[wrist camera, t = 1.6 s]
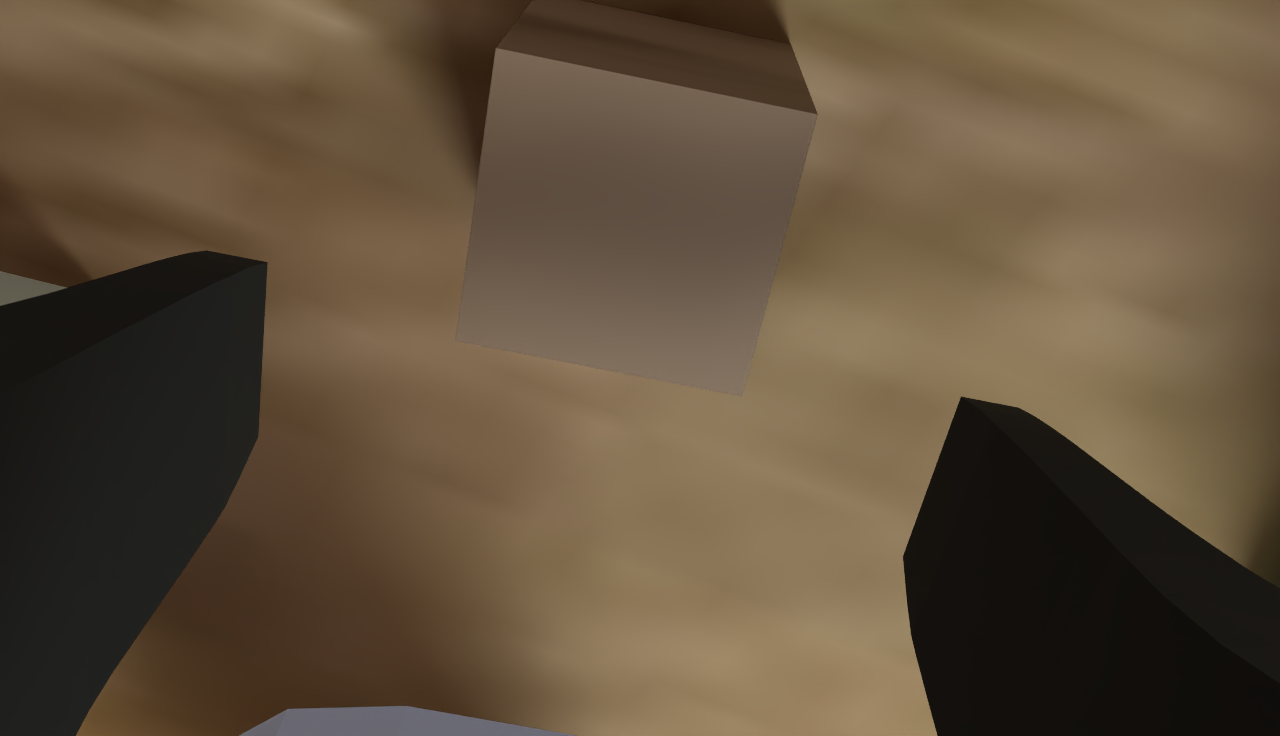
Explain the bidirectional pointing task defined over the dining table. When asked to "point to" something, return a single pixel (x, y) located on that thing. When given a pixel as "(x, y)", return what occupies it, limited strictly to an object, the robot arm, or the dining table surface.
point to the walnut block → (633, 193)
